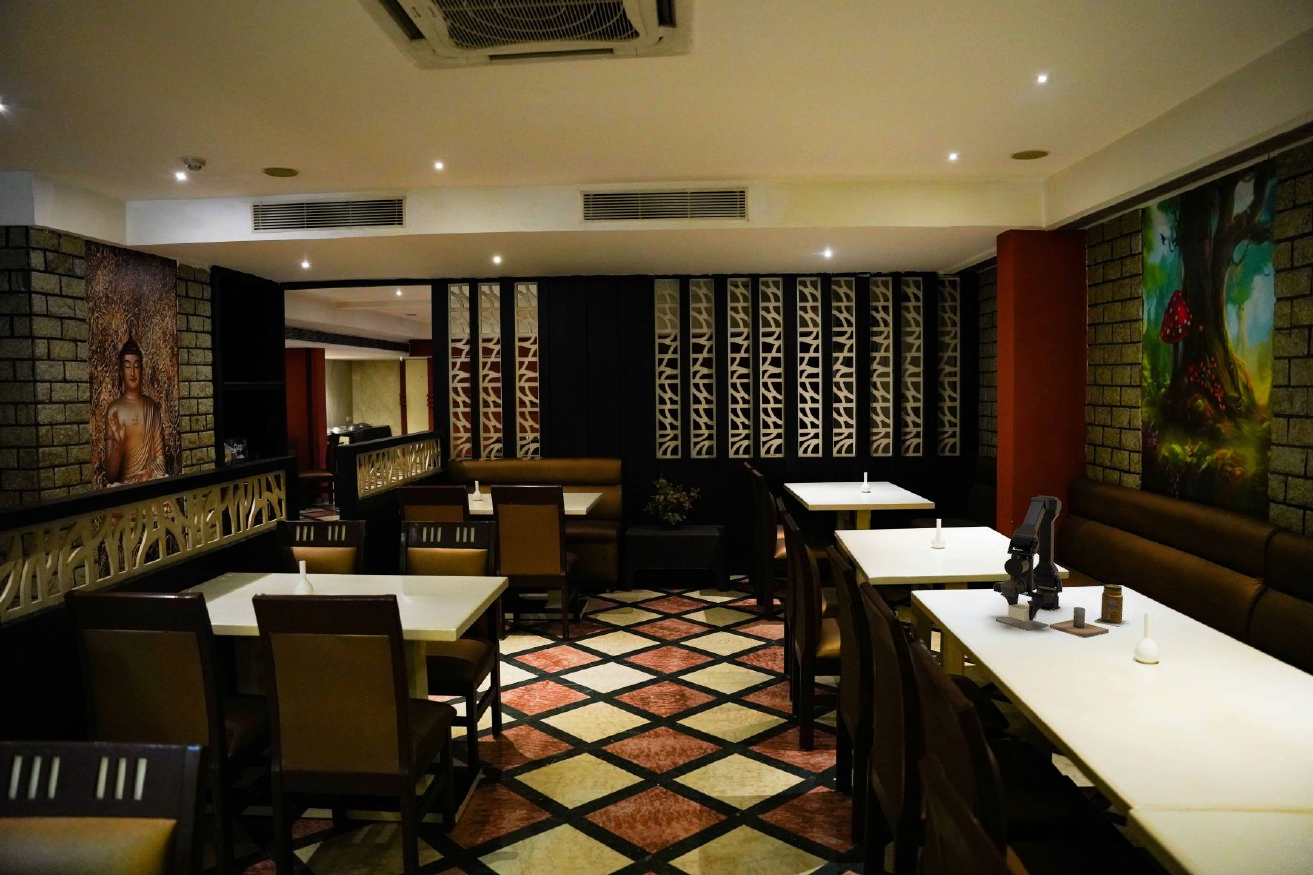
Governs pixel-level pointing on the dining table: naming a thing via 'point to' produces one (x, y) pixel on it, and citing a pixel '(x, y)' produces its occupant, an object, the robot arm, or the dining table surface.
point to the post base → (1078, 631)
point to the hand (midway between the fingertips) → (1022, 618)
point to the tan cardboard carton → (1019, 611)
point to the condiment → (1111, 605)
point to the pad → (1022, 623)
